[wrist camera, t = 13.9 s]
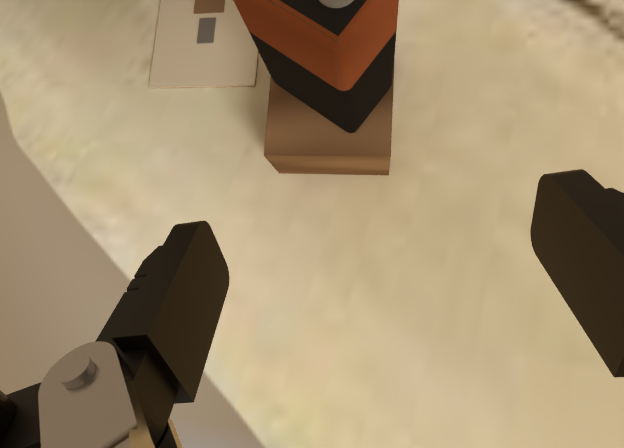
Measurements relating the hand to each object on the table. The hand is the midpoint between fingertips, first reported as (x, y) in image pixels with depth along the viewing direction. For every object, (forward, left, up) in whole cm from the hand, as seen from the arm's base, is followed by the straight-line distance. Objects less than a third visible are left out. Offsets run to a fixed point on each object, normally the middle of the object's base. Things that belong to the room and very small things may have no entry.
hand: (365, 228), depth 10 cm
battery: (-11, -3, -14) cm, 18 cm away
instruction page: (-19, -14, -17) cm, 30 cm away
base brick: (-11, -3, -17) cm, 21 cm away
